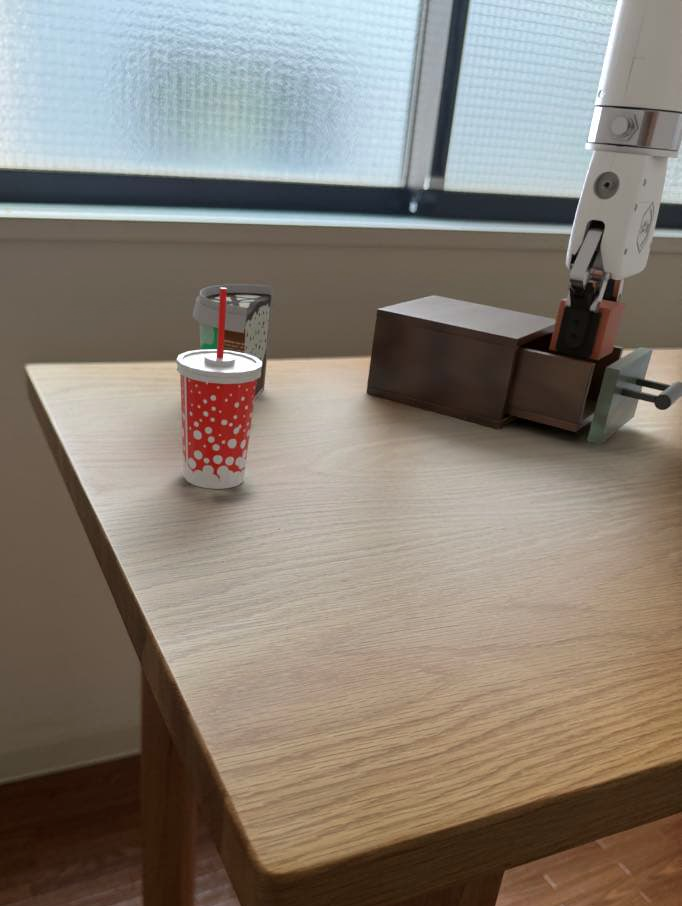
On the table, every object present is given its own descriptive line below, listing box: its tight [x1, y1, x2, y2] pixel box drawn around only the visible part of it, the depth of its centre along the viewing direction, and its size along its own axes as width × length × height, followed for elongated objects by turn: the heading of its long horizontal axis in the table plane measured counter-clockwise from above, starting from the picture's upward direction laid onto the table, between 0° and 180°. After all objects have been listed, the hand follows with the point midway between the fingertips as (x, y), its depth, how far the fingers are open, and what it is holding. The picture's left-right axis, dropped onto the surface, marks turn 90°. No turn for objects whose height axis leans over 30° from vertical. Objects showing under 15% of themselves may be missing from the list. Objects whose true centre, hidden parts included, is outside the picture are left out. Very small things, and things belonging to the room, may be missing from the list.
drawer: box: [505, 333, 682, 445], centre depth 81 cm, size 18×11×7 cm, turn 54°
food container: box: [192, 283, 275, 402], centre depth 80 cm, size 12×6×10 cm, turn 168°
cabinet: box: [366, 294, 556, 430], centre depth 87 cm, size 15×13×9 cm
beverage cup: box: [176, 288, 262, 490], centre depth 61 cm, size 6×6×14 cm
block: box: [549, 297, 626, 360], centre depth 79 cm, size 5×5×5 cm
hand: (582, 347), depth 80 cm, fingers closed on block, 4 cm apart
